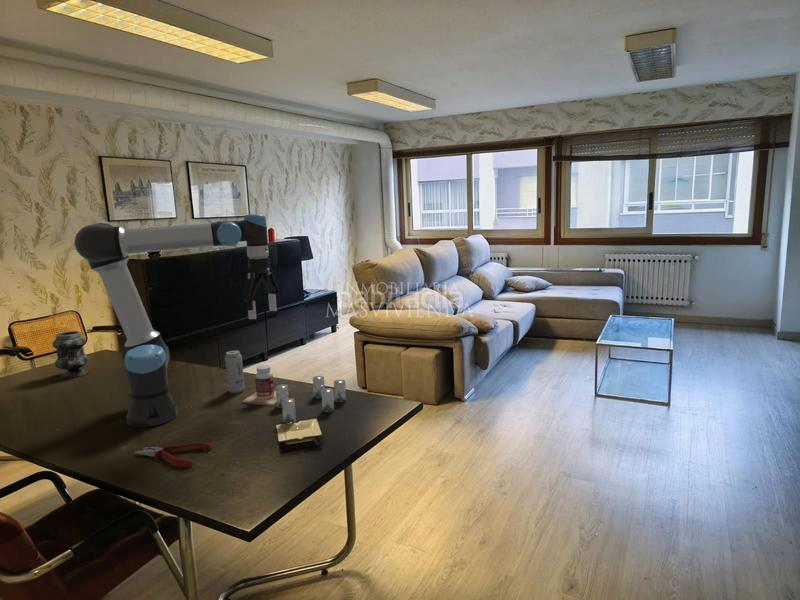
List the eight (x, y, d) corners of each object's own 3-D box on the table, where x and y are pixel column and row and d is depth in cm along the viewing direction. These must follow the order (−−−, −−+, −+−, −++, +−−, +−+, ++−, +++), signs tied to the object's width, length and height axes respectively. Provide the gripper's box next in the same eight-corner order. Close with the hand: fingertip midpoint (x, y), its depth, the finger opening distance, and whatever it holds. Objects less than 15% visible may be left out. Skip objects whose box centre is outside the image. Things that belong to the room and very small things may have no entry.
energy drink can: (240, 394, 190) (236, 354, 187) (224, 393, 191) (221, 354, 188) (247, 388, 196) (244, 350, 193) (232, 387, 197) (229, 349, 194)
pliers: (152, 445, 152) (151, 436, 152) (213, 450, 148) (212, 441, 148) (124, 464, 141) (123, 455, 141) (189, 470, 137) (188, 461, 137)
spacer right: (331, 413, 171) (330, 393, 169) (320, 412, 172) (319, 392, 170) (336, 408, 174) (335, 388, 173) (325, 407, 176) (324, 387, 174)
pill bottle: (275, 398, 183) (273, 368, 181) (257, 400, 181) (255, 370, 179) (273, 392, 189) (271, 363, 187) (255, 394, 187) (253, 365, 185)
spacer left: (285, 408, 176) (284, 389, 174) (274, 407, 177) (273, 388, 175) (291, 404, 179) (289, 384, 178) (280, 403, 180) (279, 384, 179)
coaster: (272, 406, 178) (272, 404, 178) (242, 403, 181) (241, 401, 181) (289, 393, 189) (289, 391, 189) (260, 390, 193) (260, 389, 193)
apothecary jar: (96, 369, 224) (90, 328, 221) (81, 378, 212) (74, 336, 209) (67, 370, 223) (60, 330, 220) (50, 379, 212) (43, 337, 208)
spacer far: (322, 398, 183) (321, 379, 182) (311, 397, 185) (310, 379, 183) (326, 394, 187) (325, 376, 186) (316, 393, 188) (315, 375, 187)
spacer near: (292, 424, 163) (290, 403, 161) (281, 423, 164) (279, 402, 163) (298, 419, 167) (297, 398, 165) (287, 418, 168) (285, 397, 166)
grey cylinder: (343, 403, 179) (342, 383, 178) (332, 402, 180) (331, 382, 179) (347, 398, 183) (346, 379, 181) (337, 397, 184) (336, 379, 183)
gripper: (247, 261, 174) (252, 322, 178) (285, 253, 198) (289, 308, 202) (228, 261, 177) (233, 322, 181) (268, 253, 200) (272, 307, 204)
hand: (263, 314), depth 191 cm, fingers open, 13 cm apart
